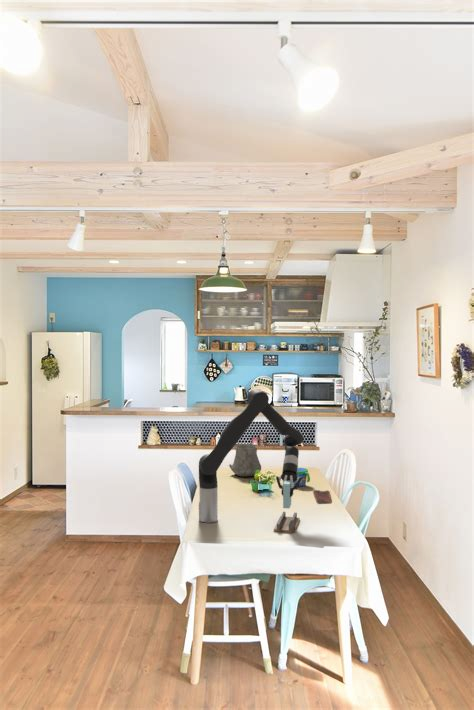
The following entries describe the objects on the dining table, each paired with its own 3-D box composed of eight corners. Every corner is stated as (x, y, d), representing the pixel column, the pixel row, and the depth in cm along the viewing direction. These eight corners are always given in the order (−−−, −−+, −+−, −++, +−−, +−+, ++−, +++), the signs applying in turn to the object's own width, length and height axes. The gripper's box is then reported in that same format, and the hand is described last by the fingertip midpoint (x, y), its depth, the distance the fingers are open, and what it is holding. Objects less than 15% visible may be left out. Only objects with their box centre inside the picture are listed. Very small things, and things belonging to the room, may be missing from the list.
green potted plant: (254, 492, 329) (254, 473, 329) (248, 488, 337) (248, 470, 337) (271, 490, 333) (271, 471, 333) (265, 486, 342) (265, 468, 341)
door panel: (283, 508, 266) (283, 483, 265) (285, 503, 272) (285, 480, 272) (289, 508, 265) (289, 484, 265) (291, 504, 272) (291, 480, 271)
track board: (273, 531, 260) (273, 523, 260) (280, 518, 280) (280, 511, 280) (294, 533, 258) (294, 525, 258) (299, 519, 277) (299, 512, 277)
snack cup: (285, 483, 348) (285, 468, 348) (297, 481, 354) (297, 466, 354) (301, 489, 335) (301, 473, 335) (314, 486, 341) (314, 470, 341)
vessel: (231, 470, 383) (231, 442, 383) (262, 471, 380) (262, 443, 380) (226, 478, 362) (226, 448, 361) (259, 479, 359) (259, 449, 358)
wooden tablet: (333, 502, 304) (315, 500, 305) (332, 506, 305) (315, 503, 305) (329, 490, 331) (313, 487, 332) (329, 493, 331) (312, 491, 332)
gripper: (276, 461, 278) (272, 491, 266) (303, 462, 275) (300, 493, 263) (277, 469, 283) (273, 498, 272) (304, 470, 280) (301, 500, 268)
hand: (287, 495), depth 268 cm, fingers closed on door panel, 3 cm apart
